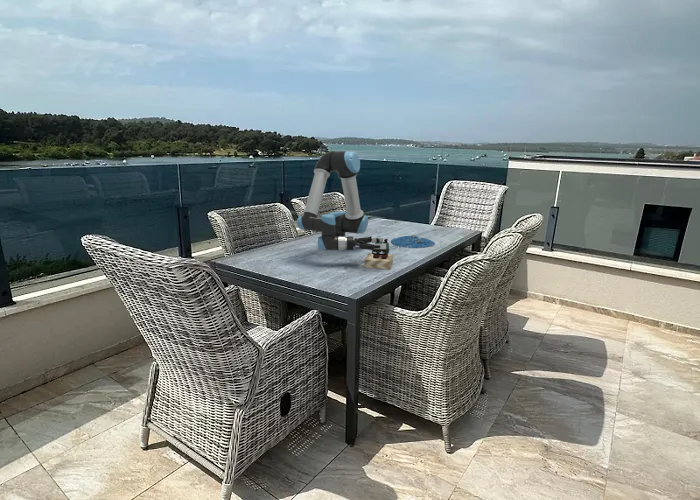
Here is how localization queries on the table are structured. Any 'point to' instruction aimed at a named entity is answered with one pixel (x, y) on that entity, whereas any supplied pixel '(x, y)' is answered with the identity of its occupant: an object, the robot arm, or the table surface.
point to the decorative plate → (412, 242)
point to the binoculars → (384, 251)
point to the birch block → (378, 262)
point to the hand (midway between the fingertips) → (384, 243)
